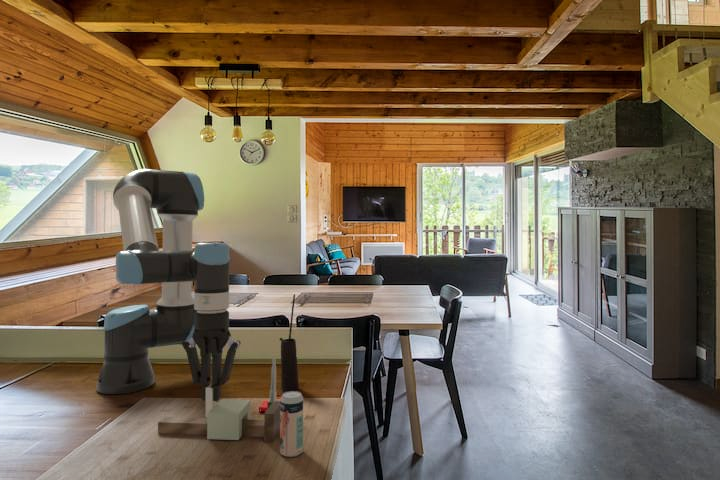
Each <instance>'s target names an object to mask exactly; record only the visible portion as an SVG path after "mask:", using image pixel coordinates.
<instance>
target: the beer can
mask: <svg viewBox="0 0 720 480" xmlns="http://www.w3.org/2000/svg"><path fill="white" fill-rule="evenodd" d="M280 397H281V399H280V431H279V453H280V455H282V456H284V457H285V458H295V457H298V456H299V455H301V454H302V453H303V452H304V396H303V395H302V392H300V391H298V390H297V391H290V392H283V393H282V396H280Z"/></svg>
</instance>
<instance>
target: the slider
mask: <svg viewBox="0 0 720 480" xmlns="http://www.w3.org/2000/svg"><path fill="white" fill-rule="evenodd" d="M251 403H252V402H251V400H250V399H226V398H224V399H223V398H222V399H221V398H220V399H219V400H218V401H217V404H216V405H215V406H214V407H213V408H212V409H211V410H210V411H209V412H208V413H207V417H206V418H207V435H206V440H225V441H227V440H228V441H239V440H240V439H241V438H242V437H243V436H242V419H250V420H252V419H251V410H252V409H251V408H252V407H251V406H252V405H251Z"/></svg>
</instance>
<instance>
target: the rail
mask: <svg viewBox="0 0 720 480" xmlns="http://www.w3.org/2000/svg"><path fill="white" fill-rule="evenodd" d="M157 434H169V435H195V436H196V435H198V436H199V435H201V436H207V417H188V416H187V417H186V416H164V417H163V418H161V419H160V420H159V421H158V422H157ZM279 434H280V402H273V403H272V404H271V405H270V407H269V408H268V410H267V411H266V412H264V419H242V436H241V437H254V438H255V437H256V438H263V439H264V440H263V441H264V442H267V443H268V442H275V440H276V439H277V436H278V435H279Z"/></svg>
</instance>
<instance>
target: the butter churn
mask: <svg viewBox="0 0 720 480" xmlns="http://www.w3.org/2000/svg"><path fill="white" fill-rule="evenodd" d="M292 298H293V299H292V307H291V315H290V323H289V335H288V338H287V339H283V338H282V337H280V338H279V341H280V377H281V378H280V381H281V382H280V384H281V385H280V389H281V391H282V392H283V393H285V392H290V391H297V392H298V390H299V389H300V385H299V382H300V381H299V371H298V357H297V342H296V339H295V338H291V337H292V331H293V330H292V327H293V319H294V307H295V299H296V294H293V297H292Z"/></svg>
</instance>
